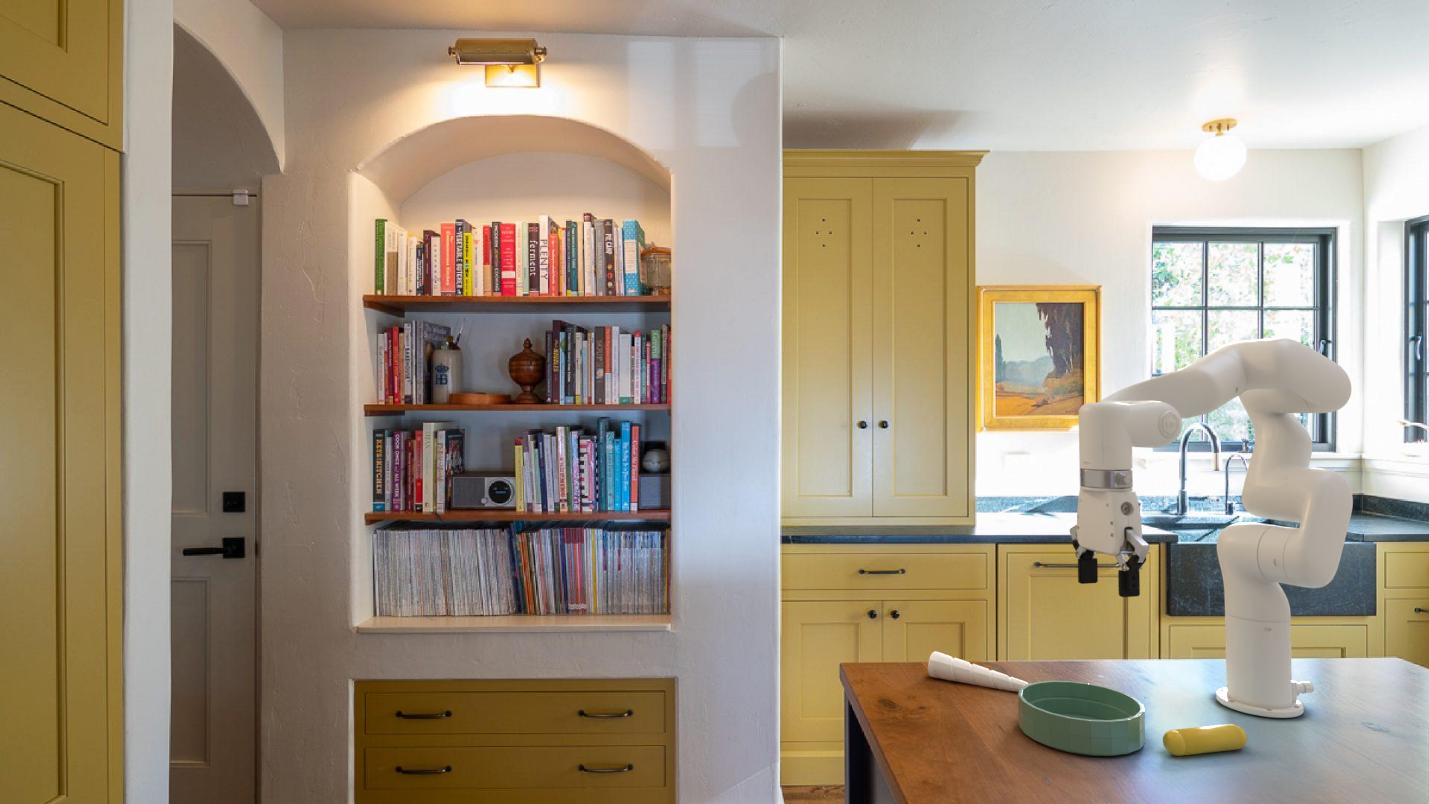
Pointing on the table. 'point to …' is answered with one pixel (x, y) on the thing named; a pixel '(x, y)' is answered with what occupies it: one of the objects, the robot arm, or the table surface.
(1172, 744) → the yellow rounded capsule
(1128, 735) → the green round dish
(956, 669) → the unicorn horn
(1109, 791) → the table surface
